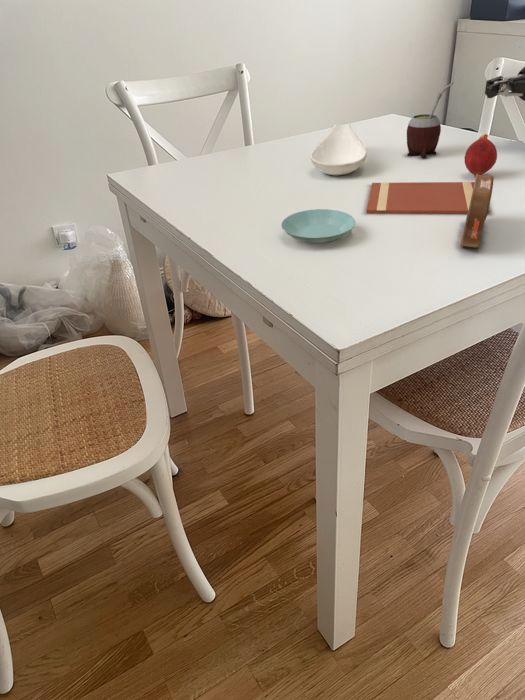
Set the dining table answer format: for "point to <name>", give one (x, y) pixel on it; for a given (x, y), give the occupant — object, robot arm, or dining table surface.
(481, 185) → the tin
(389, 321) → the dining table surface
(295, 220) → the saucer
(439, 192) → the towel
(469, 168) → the red pomegranate
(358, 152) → the spoon rest
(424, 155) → the mate gourd
